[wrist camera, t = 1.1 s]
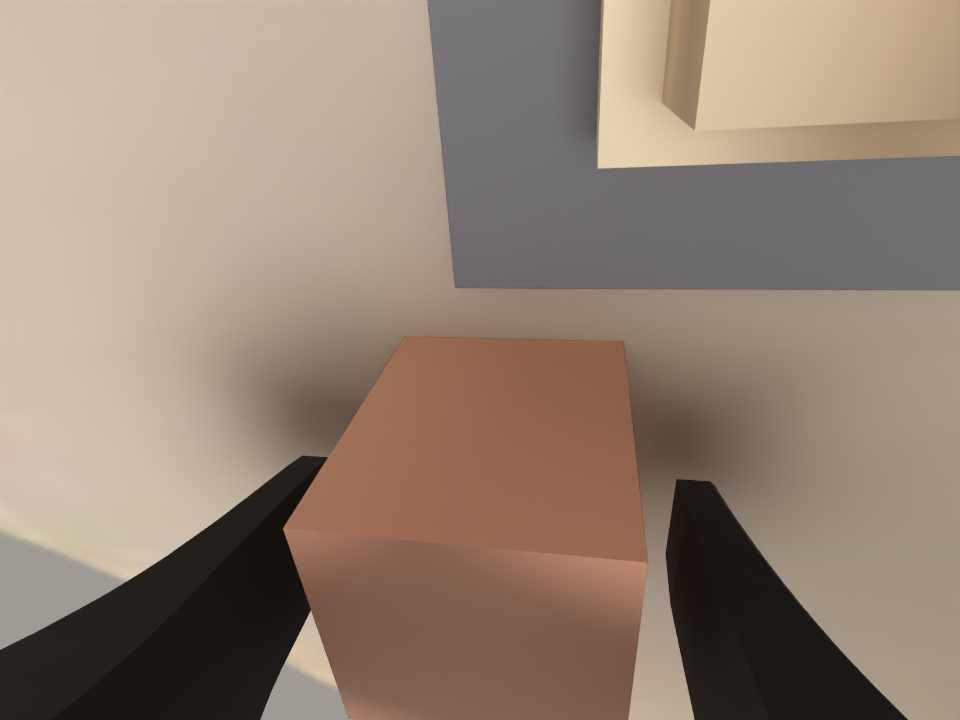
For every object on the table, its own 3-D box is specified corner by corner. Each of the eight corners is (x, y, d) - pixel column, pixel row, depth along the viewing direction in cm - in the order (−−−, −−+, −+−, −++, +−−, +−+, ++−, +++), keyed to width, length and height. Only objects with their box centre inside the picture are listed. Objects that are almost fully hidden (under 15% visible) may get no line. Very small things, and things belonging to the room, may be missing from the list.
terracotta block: (623, 340, 12) (647, 562, 7) (611, 507, 14) (622, 762, 9) (405, 335, 13) (282, 528, 8) (429, 493, 15) (348, 718, 10)
